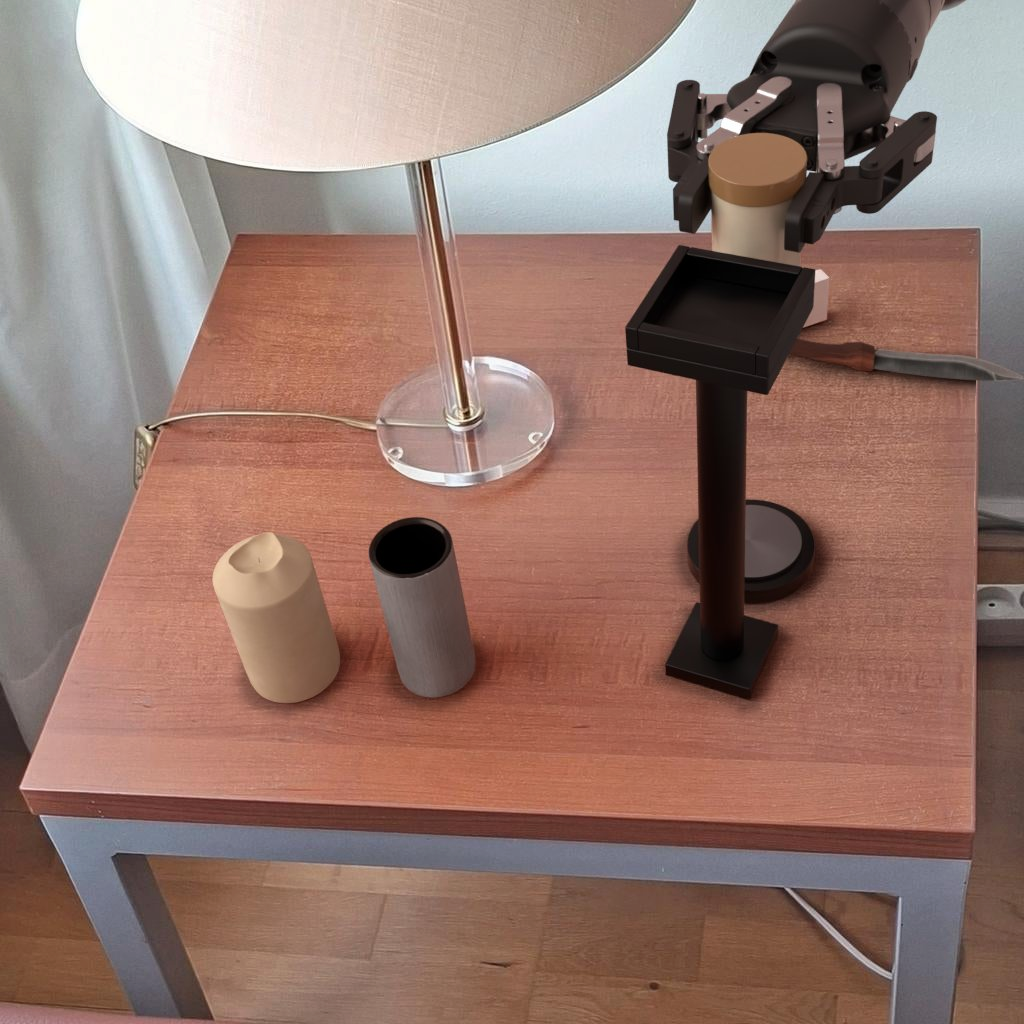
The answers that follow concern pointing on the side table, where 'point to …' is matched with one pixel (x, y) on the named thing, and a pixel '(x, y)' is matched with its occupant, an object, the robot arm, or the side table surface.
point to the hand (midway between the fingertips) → (738, 225)
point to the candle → (277, 617)
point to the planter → (423, 605)
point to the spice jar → (755, 194)
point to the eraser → (819, 299)
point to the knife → (903, 361)
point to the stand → (721, 430)
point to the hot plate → (768, 551)
